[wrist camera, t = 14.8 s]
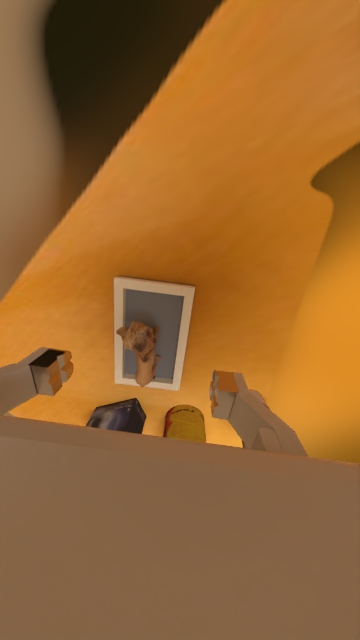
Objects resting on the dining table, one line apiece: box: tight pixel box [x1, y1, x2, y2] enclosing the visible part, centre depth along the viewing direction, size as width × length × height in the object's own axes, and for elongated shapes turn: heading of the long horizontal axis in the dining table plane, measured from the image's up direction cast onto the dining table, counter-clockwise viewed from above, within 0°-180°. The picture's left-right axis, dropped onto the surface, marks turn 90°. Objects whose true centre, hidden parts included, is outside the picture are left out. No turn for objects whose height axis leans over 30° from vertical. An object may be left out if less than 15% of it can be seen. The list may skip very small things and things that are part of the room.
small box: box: [85, 398, 146, 434], centre depth 38 cm, size 11×6×10 cm, turn 109°
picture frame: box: [114, 276, 195, 391], centre depth 34 cm, size 13×21×2 cm, turn 173°
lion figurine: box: [116, 321, 161, 387], centre depth 31 cm, size 15×5×9 cm, turn 6°
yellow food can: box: [163, 405, 206, 443], centre depth 38 cm, size 9×9×12 cm
